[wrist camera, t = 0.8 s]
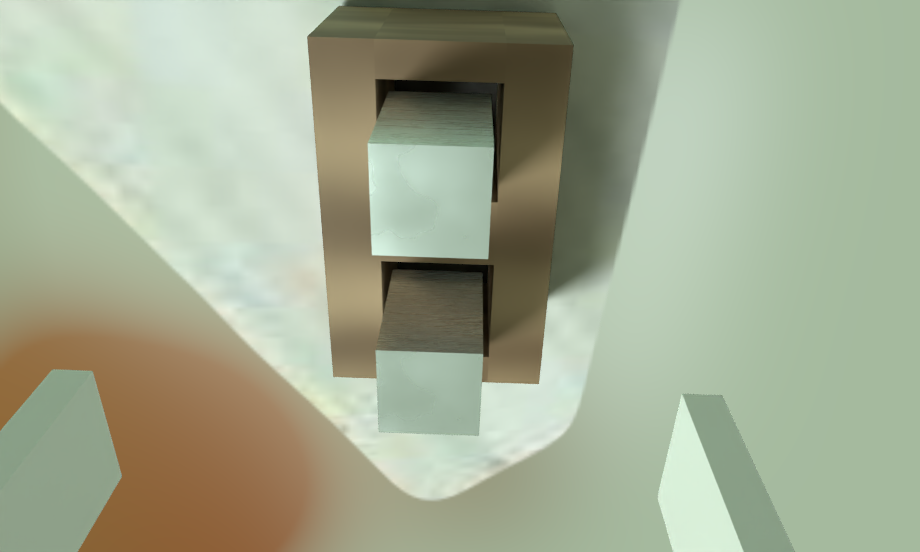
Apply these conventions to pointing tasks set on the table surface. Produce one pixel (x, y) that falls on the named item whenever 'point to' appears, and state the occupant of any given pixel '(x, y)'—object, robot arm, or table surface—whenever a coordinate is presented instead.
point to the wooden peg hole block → (514, 165)
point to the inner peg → (431, 175)
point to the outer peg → (431, 353)
